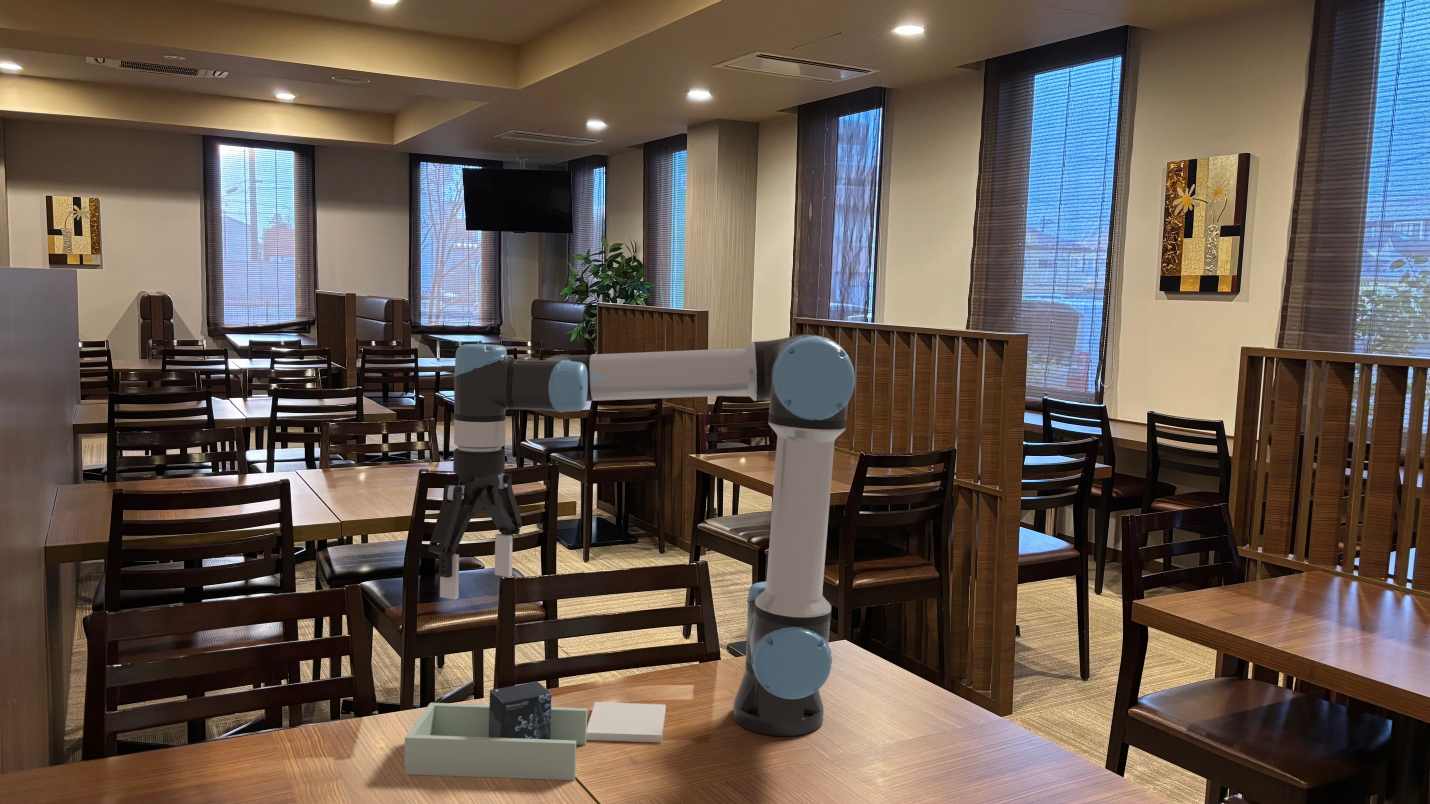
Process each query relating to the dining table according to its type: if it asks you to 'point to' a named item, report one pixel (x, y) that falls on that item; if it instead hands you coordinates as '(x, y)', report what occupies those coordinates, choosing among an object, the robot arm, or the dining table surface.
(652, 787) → the dining table surface
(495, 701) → the box
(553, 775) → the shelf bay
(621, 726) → the plate
